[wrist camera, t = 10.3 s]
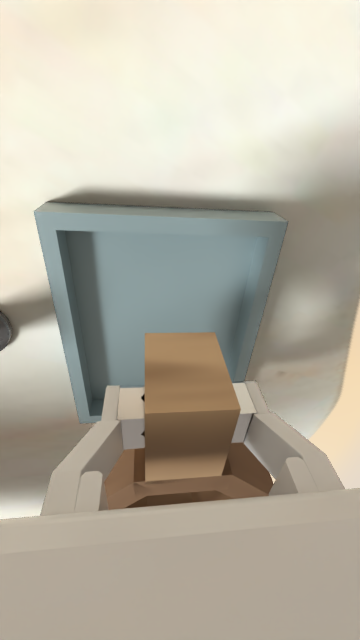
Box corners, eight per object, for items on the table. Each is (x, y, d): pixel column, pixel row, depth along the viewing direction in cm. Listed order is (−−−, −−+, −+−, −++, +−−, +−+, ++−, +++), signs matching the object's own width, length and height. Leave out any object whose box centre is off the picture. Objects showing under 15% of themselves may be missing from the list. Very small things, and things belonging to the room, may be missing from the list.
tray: (228, 395, 30) (234, 415, 28) (84, 401, 28) (79, 423, 26) (273, 212, 19) (288, 221, 17) (46, 201, 17) (33, 211, 15)
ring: (232, 481, 20) (249, 551, 17) (98, 492, 19) (88, 568, 16) (285, 331, 12) (335, 405, 9) (64, 333, 11) (31, 418, 8)
